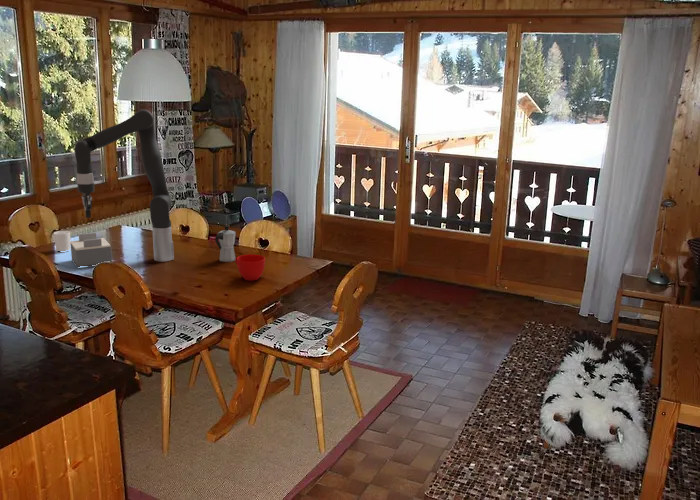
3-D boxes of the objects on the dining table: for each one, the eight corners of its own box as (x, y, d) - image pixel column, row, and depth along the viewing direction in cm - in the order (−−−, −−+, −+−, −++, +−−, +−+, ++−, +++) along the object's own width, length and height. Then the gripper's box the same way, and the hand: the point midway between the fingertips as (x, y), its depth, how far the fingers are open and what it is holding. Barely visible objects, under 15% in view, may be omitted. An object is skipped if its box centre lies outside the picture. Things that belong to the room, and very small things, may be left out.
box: (105, 256, 341) (103, 239, 338) (111, 264, 328) (110, 246, 325) (71, 260, 333) (70, 242, 330) (77, 268, 320) (75, 250, 317)
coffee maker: (229, 255, 349) (228, 222, 344) (242, 258, 344) (241, 224, 339) (209, 262, 336) (208, 227, 331) (222, 264, 332) (221, 230, 327)
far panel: (103, 239, 338) (103, 231, 337) (107, 242, 332) (106, 234, 331) (70, 242, 330) (69, 234, 329) (73, 246, 324) (72, 238, 323)
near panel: (107, 243, 332) (106, 234, 331) (110, 246, 325) (109, 238, 324) (73, 246, 324) (72, 238, 322) (75, 250, 317) (75, 242, 316)
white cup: (60, 253, 343) (58, 235, 341) (52, 251, 348) (50, 232, 345) (74, 250, 349) (73, 232, 347) (66, 248, 354) (64, 229, 351)
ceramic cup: (246, 270, 323) (246, 251, 321) (270, 278, 313) (270, 258, 310) (226, 276, 314) (225, 256, 311) (250, 284, 303) (250, 263, 301)
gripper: (96, 184, 316) (99, 219, 320) (91, 179, 327) (93, 214, 331) (79, 185, 312) (82, 220, 317) (75, 180, 323) (77, 215, 327)
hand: (88, 217), depth 324 cm, fingers closed
